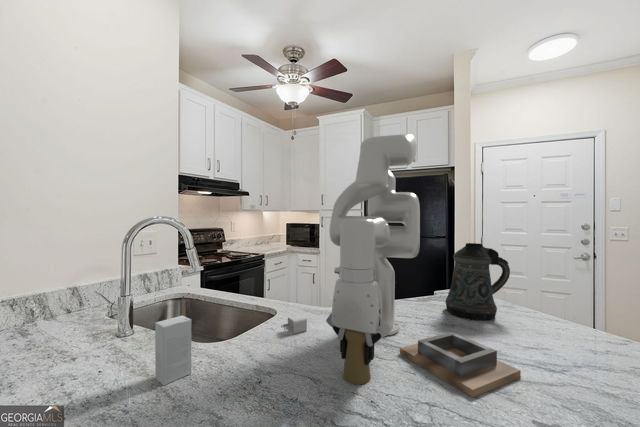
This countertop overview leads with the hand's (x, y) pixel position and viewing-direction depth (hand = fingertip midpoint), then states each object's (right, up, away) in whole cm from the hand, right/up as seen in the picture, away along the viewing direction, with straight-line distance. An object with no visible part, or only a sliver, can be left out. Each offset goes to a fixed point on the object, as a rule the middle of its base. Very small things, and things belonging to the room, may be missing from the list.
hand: (356, 358), depth 64 cm
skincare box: (-39, -4, -1) cm, 40 cm away
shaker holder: (+24, -4, +5) cm, 25 cm away
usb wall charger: (-16, -4, +24) cm, 29 cm away
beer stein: (+47, -5, +43) cm, 64 cm away
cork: (0, -4, 0) cm, 4 cm away
